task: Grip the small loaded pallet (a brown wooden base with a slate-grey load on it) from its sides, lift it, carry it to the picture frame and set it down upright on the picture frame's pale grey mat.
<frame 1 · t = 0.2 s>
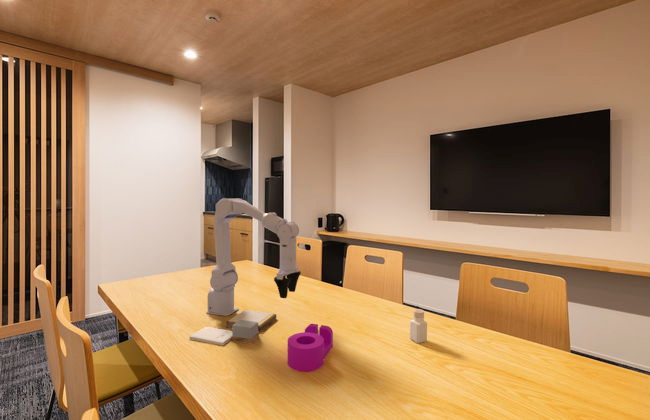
hand: (287, 294, 114), 10 cm above the table, tool pointing down, fingers open, 7 cm apart
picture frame: (252, 322, 114), on the table
salt shaker: (418, 341, 101), on the table
external hard drive: (214, 339, 102), on the table
magenta clevis bracket: (309, 358, 90), on the table
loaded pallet: (245, 339, 101), on the table
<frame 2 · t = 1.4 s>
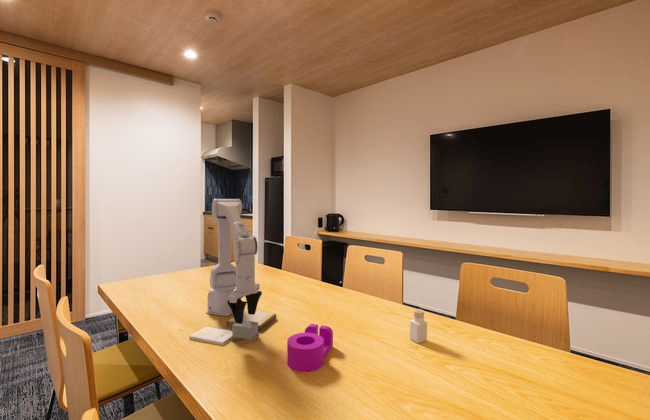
hand: (245, 318, 101), 7 cm above the table, tool pointing down, fingers open, 7 cm apart
nothing on the table moved.
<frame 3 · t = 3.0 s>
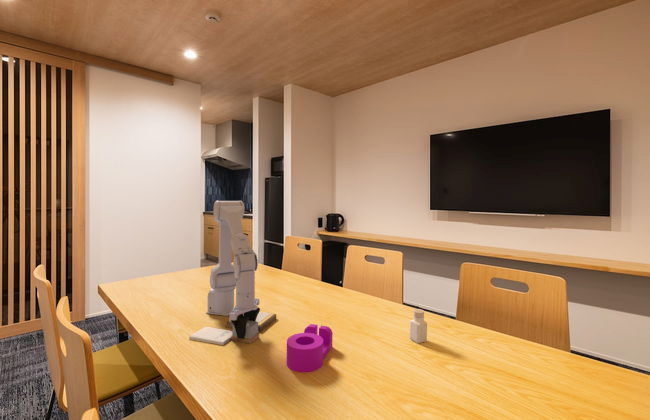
hand: (245, 334, 101), 1 cm above the table, tool pointing down, fingers closed on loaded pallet, 5 cm apart
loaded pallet: (245, 338, 101), on the table, touching gripper
everything else where it was.
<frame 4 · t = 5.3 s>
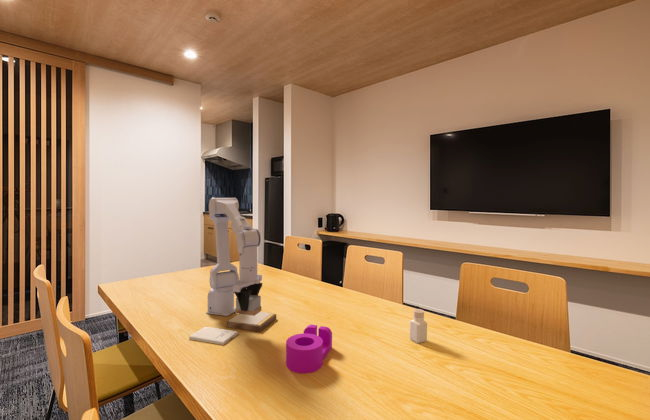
hand: (248, 307, 105), 8 cm above the table, tool pointing down, fingers closed on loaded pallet, 5 cm apart
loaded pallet: (248, 311, 105), point 7 cm above the table, touching gripper
everything else where it was.
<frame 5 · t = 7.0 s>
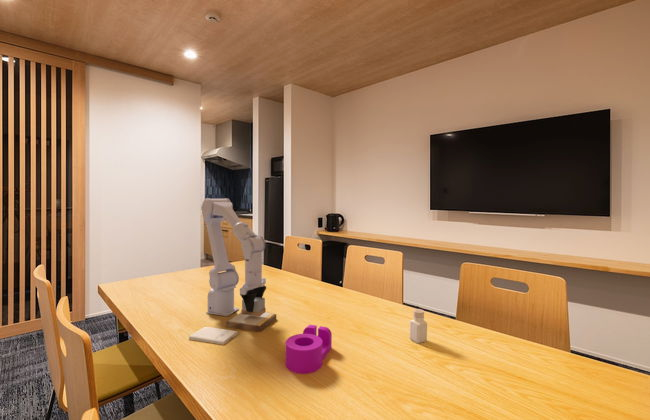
hand: (253, 309, 113), 5 cm above the table, tool pointing down, fingers closed on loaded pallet, 5 cm apart
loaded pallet: (253, 312, 113), point 4 cm above the table, touching gripper
everything else where it was.
when the fingers open (4 cm above the table, at t = 8.0 s): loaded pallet stays where it is, resting on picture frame.
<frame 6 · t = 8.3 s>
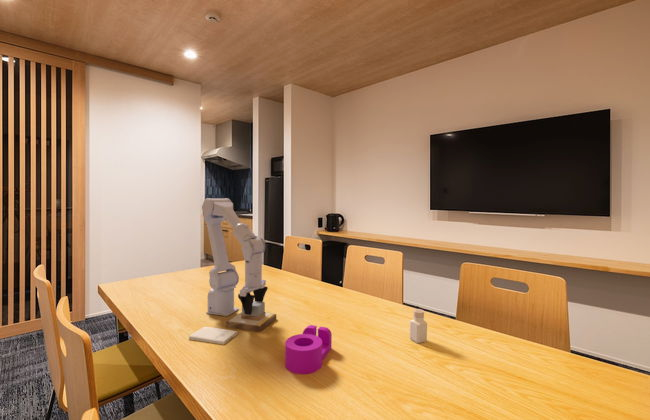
hand: (253, 310, 113), 4 cm above the table, tool pointing down, fingers open, 7 cm apart
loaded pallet: (253, 317, 113), point 2 cm above the table, touching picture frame
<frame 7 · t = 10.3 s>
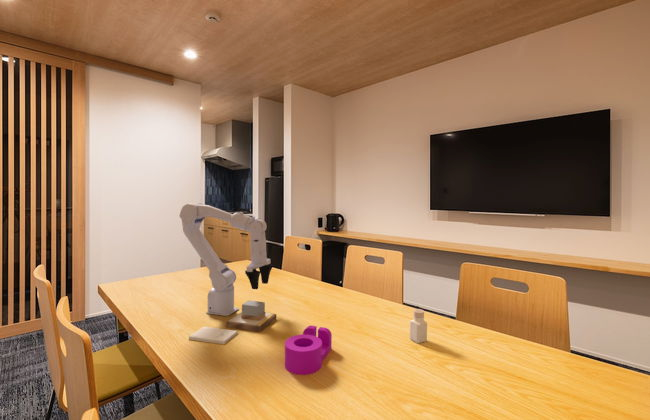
hand: (260, 286, 123), 10 cm above the table, tool pointing down, fingers open, 7 cm apart
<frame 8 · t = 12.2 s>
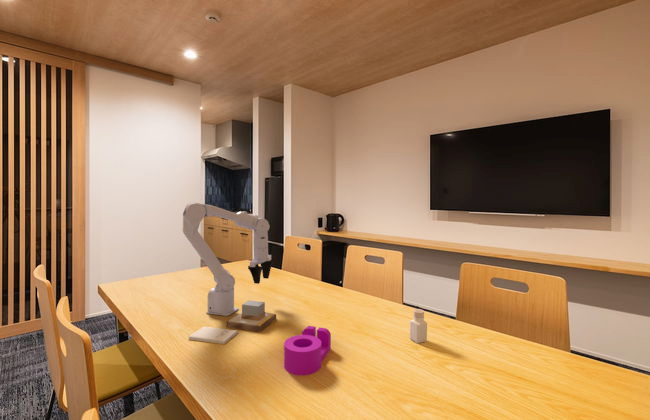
hand: (261, 280, 130), 10 cm above the table, tool pointing down, fingers open, 7 cm apart
at the end: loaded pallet inside the target area on the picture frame (0.5 cm from its centre), point 2.0 cm above the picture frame's base; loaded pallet tilted 0°; the gripper is holding nothing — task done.
